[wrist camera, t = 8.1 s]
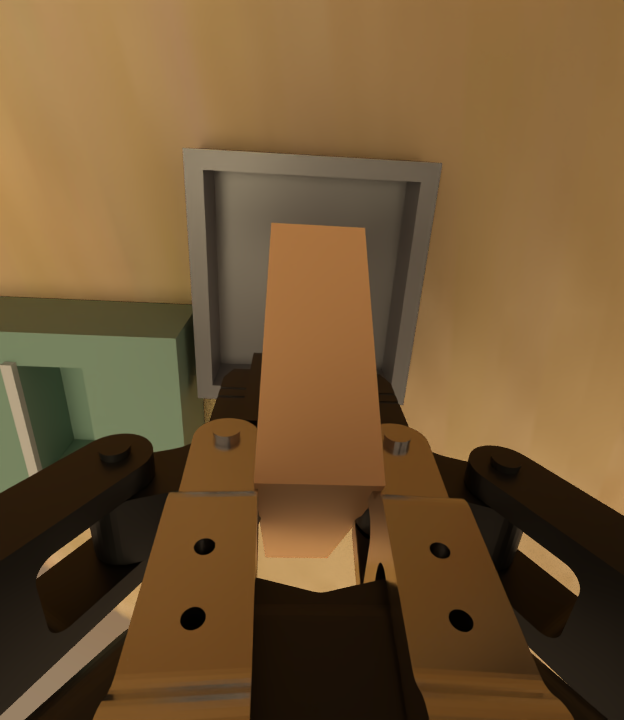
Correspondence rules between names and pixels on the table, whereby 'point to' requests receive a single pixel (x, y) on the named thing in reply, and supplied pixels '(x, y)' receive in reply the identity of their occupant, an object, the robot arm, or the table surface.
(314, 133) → the table surface
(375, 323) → the tray
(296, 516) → the tan wooden plank
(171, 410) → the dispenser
